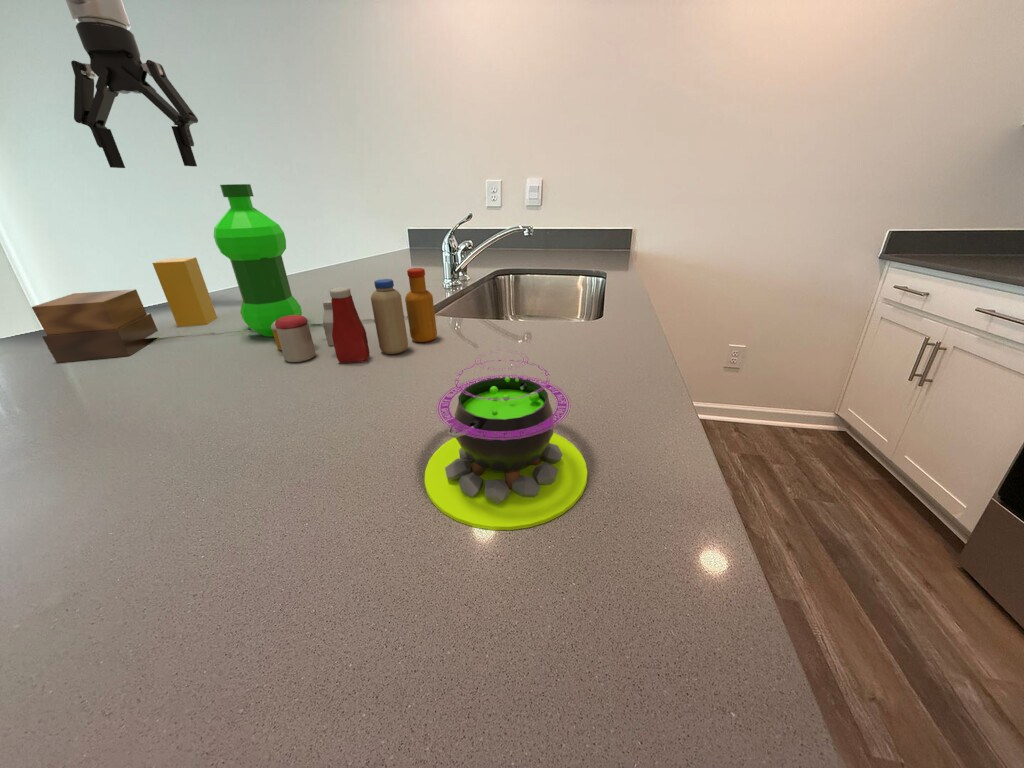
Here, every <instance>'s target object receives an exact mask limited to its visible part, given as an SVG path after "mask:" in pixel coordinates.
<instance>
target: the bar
mask: <svg viewBox="0 0 1024 768" xmlns="http://www.w3.org/2000/svg"><path fill="white" fill-rule="evenodd" d="M151 264H152V267H153V268H154V272H155V273H156V276H157V279H158V281H159V284H160V287H161V289H162V291H163V293H164V296H165V299H166V301H167V304H168V306H169V309H170V311H171V314H172V316H173V319H174V321H175V324H176V326H177V328H183V327H184V328H185V327H194V326H205V325H209V324H210V323H211V322H213V321H214V320H216V319H217V318H218V316H217V313H216V311H215V307H214V304H213V301H212V299H211V296H210V293H209V290H208V287H207V284H206V281H205V279H204V278H205V277H204V275H203V273H202V270H201V267H200V264H199V262H198V258H197V257H196V256H194V257H192V256H191V257H174V258H164V259H161V260H158V261H155V262H152V263H151Z"/></svg>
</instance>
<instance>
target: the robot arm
mask: <svg viewBox="0 0 1024 768" xmlns="http://www.w3.org/2000/svg"><path fill="white" fill-rule="evenodd" d="M65 3H66V5H67V7H68V10H69V12H70V16H71V18H72V19H73V20H74V21H75V23H76V25H75V29H76V31H77V34H78V37H79V39H80V42H81V45H82V47H83V49H84V51H85V52H86V54H87V55H88V57H89V61H90V62H89V63H85V62H84V63H83V62H82V61H78V60H71V61H70V64H71V65H70V66H71V68H72V71H73V75H74V92H73V93H74V96H73V97H74V98H73V120H74V122H76V123H77V124H81V125H84V126H87V127H89V129H90V131H91V133H92V135H93V138H94V140H95V143H96V145H97V146H98V148H100V149H102V151H103V153H104V156H105V158H106V161H107V163H108V165H109V168H110V169H111V168H114V169H126V166H125V164H124V160H123V158H122V155H121V153H120V149H119V148H118V145H117V143H116V140H115V137H114V134H113V132H112V129H110V128H108V127H107V126H106V123H107V121H108V119H109V115H110V112H111V110H112V107H113V104H114V102H115V99H116V98H117V97H119V94H123V95H128V94H131V93H133V94H137V95H139V94H142V95H143V96H144V97H146V98H147V100H149V101H150V102H151V103H152V104H153V105H154V106H155V107H156V108H157V109H159V111H160V112H162V113H163V114H164V116H166V117H168V119H169V120H170V121H172V123H173V125H171V130H172V133H173V136H174V139H175V142H176V145H177V148H178V151H179V154H180V157H181V161H182V163H183V166H184V167H198V165H197V161H196V158H195V155H194V151H193V149H192V147H195V142H194V138H193V136H192V132H191V128H190V126H191V125H193V124H198V123H199V119H198V117H197V116H196V114H195V113H194V112H193V110H192V109H191V108H190V107H189V105H188V104H187V102H186V101H185V100H184V98H183V97H182V95H181V94H180V93H179V92H178V90H177V89H176V87H175V86H174V85H173V84H172V82H171V80H169V78H168V76H167V74H166V72H165V71H166V70H165V69H164V67H163V65H162V64H160V63H159V62H156V61H153V60H150V59H146V62H142V60H141V52H140V50H139V47H138V44H137V41H136V38H135V34H134V33H132V32H131V28H132V26H131V23H130V20H129V16H128V14H127V11H126V8H125V5H124V2H123V0H65ZM96 76H97V79H96V83H95V78H96ZM148 76H150V77H152V79H153V80H154V82H155V84H157V86H158V88H159V89H160V90H161V91H162V93H163V94H164V95H165V97H166V98H167V99H168V101H169V102H170V103H171V104H172V105H171V104H170V103H169V102H168V101H167V100H166V99H164V98H163V96H161V94H160V93H158V92H157V90H156V89H155V88H154V87H153V86H152V85H151V84H150V83H149V82H148V81H146V80H147V77H148ZM95 89H96V91H95Z"/></svg>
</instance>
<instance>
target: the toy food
mask: <svg viewBox="0 0 1024 768" xmlns="http://www.w3.org/2000/svg"><path fill="white" fill-rule="evenodd" d="M406 272H407V277H408V282H409V288H410V291H408V292H407V293H406V295H405V297H404V302H405V308H406V315H407V321H408V322H407V323H408V327H409V328H408V329H409V335H410V338H411V340H413V341H414V342H417V343H428V342H431V341H434V340H435V339H436V337H437V336H438V329H437V321H436V312H435V306H434V305H435V303H434V298H433V294H432V293H431V292H430V291H429V290H427V286H426V277H425V276H426V271H425V268H422V267H412V268H408V269H407V271H406ZM373 283H374V288H375V290H374V291H373V292H372V293H371V296H370V302H371V307H372V313H373V318H374V325H375V329H376V335H377V340H378V347H379V349H380V351H381V352H382V353H384V354H387V355H396V354H397V355H398V354H400V353H403V352H405V351H406V350H407V349H408V347H409V340H408V333H407V327H406V320H405V314H404V307H403V301H402V295H401V293H400V291H398V290H397V289H395V288H394V286H395V284H394V280H393V279H391V278H380V279H376V280H374V281H373ZM329 294H330V296H329V297H330V298H331V300H325V301H323V302H322V305H323V317H322V326H323V330H324V335H325V338H326V342H327V345H328V346H332V347H334V352H335V355H336V359H337V361H338V362H339V363H343V364H346V363H347V364H348V363H349V364H350V363H351V364H352V363H364V362H366V361H367V360H368V359H369V357H370V348H369V341H368V336H367V331H366V328H365V326H364V324H363V322H362V320H361V317H360V316H359V313H358V311H357V309H356V306H355V302H354V299H353V296H352V293H351V288H350V287H346V286H344V287H343V286H341V287H334V288H331V289H329ZM308 322H309V320H308V319H307V318H306V317H305V316H304V315H289V316H284V317H281V318H279V319H278V320H276V321H275V322H273V323H272V325H271V329H272V331H273V335H274V336H273V338H274V341H275V345H276V348H277V349H278V350H279V351H281V352H282V355H283V358H284V360H285V362H288V363H301V362H305V361H309V360H311V359H313V358H314V357H315V356H316V354H317V353H316V349H315V344H314V341H313V337H312V333H311V328H310V325H309V323H308Z"/></svg>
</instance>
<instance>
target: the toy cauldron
mask: <svg viewBox="0 0 1024 768" xmlns="http://www.w3.org/2000/svg"><path fill="white" fill-rule="evenodd" d="M510 351H511V353H513V354H517V355H520V352H519V351H517V350H510V349H508V352H510ZM496 352H500V349H497V350H493V351H490V354H494V353H496ZM483 356H486V353H483V354H480V355H478V356H476V358H475V360H474V362H475V363H474V364H472V365H469V366H468V367H466V368H464V369H462V370H461V371H460V373H458V374H457V375H456V377H455V379H454V385H455V386H453V387H451V388H450V389H448V390H447V391H446V392H444V393H443V394H442V396H440V397H439V399H438V401H437V403H436V406H435V411H436V415H437V418H438V419H439V421H440V422H441V423H442V424H443V425H444V426H445V427H447V436H449V437H450V438H451V439H449V440H448V441H445V442H444V443H443V444H442V445H440V447H439V448H438V449H436V451H435V452H434V453H433V454H432V456H431V457H430V458H429V460H428V462H427V465H426V467H425V470H424V483H423V484H424V487H425V491H426V495H427V497H428V498H429V500H430V501H431V503H432V505H434V506H435V507H436V508H437V509H438V510H439V511H440V512H441V513H442V514H443V515H445V516H446V517H448V518H450V519H452V520H454V521H456V522H457V523H462V524H463V525H467V526H470V527H472V528H478V529H483V530H489V531H514V530H521V529H528V528H532V527H533V528H534V527H536V526H539V525H542V524H546V523H548V522H550V521H552V520H554V519H556V518H558V517H560V516H562V515H564V514H565V513H566V512H567V511H568V510H570V509H571V508H572V507H574V506H575V505H576V503H577V502H578V501H579V500H580V499H581V498H582V496H583V493H584V491H585V489H586V487H587V483H588V468H587V463H586V461H585V459H584V457H583V454H582V453H581V452H580V450H579V449H578V448H577V447H576V446H575V444H573V443H572V442H570V441H569V440H568V439H566V438H565V437H564V436H562V435H559V434H558V433H556V432H554V428H556V427H557V426H558V425H559V424H561V423H562V422H563V421H565V419H567V417H568V416H569V413H570V412H571V409H572V403H571V402H572V401H571V399H570V397H569V395H568V394H567V393H566V392H564V389H562V387H561V388H560V387H559V386H558V385H557V384H556V385H555V384H554V383H553V382H550V381H551V380H550V378H549V376H550V373H549V372H548V371H547V370H546V369H545V368H544V367H543V366H540V365H539V364H536V363H534V362H530V361H529V360H528V359H529V357H528V356H527V355H526V354H524V353H523V352H521V357H522V361H521V360H519V359H517V360H515V363H516V362H518V363H519V364H518V365H516V366H515V369H519V368H521V367H524V366H525V365H526V364H527V365H530V366H531V365H532V366H534V367H535V366H536V367H537V369H539V370H541V371H543V372H544V375H545V376H546V379H545V380H544V379H541V378H539V377H535V376H528V375H526V374H524V375H521V374H514V373H513V374H502V373H501V374H494V375H491V374H490V375H486V376H480V377H477V378H474V379H468V380H467V381H464V382H462V383H461V382H460V380H459V379H460V377H461V376H462V374H463V373H464V371H467V370H469V369H471V368H474V367H475V366H477V365H478V367H479V368H481V369H483V370H487V371H490V370H492V367H489V366H488V367H487V368H485V365H484V364H487V363H489V360H487V361H482V362H481V360H482V357H483ZM525 358H526V359H525ZM478 359H479V361H477V360H478ZM504 361H506V362H514V359H498V362H504ZM491 362H494V359H493V360H491ZM520 362H521V363H520ZM520 365H521V366H520ZM512 370H513V366H511V367H510V368H507V367H505V368H501V369H498V368H495V367H493V371H494V372H496V371H497V372H498V371H499V372H501V371H502V372H503V371H512ZM545 389H546V390H545ZM547 391H548V392H550V393H551V395H552V396H553V397H554V400H555V401H556V402H555V408H554V410H553V409H552V405H551V403H550V398H549V393H548V392H547ZM459 393H460V394H459ZM458 394H459V395H458ZM456 395H458V401H457V402H458V403H457V406H456V409H455V412H454V416H453V414H452V411H451V408H452V407H451V406H452V405H451V403H452V401H453V399H454V398H455V397H456ZM559 399H560V400H559ZM452 431H454V432H455V433H454V432H452Z"/></svg>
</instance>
